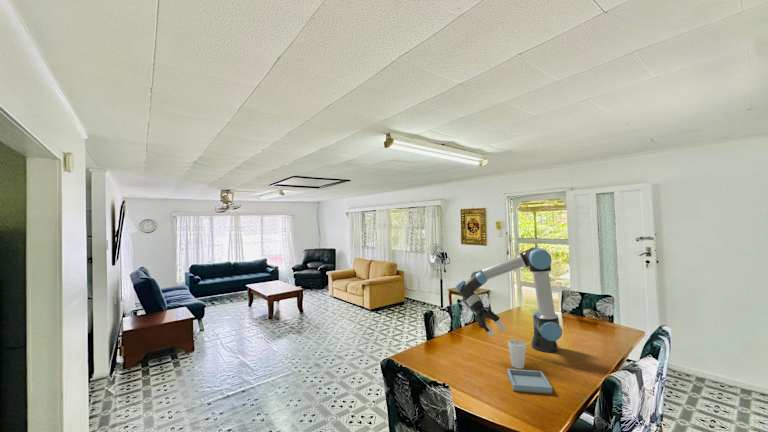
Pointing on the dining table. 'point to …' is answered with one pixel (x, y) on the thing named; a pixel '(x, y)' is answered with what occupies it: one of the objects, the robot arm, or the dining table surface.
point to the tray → (529, 381)
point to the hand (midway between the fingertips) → (498, 333)
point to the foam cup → (517, 352)
